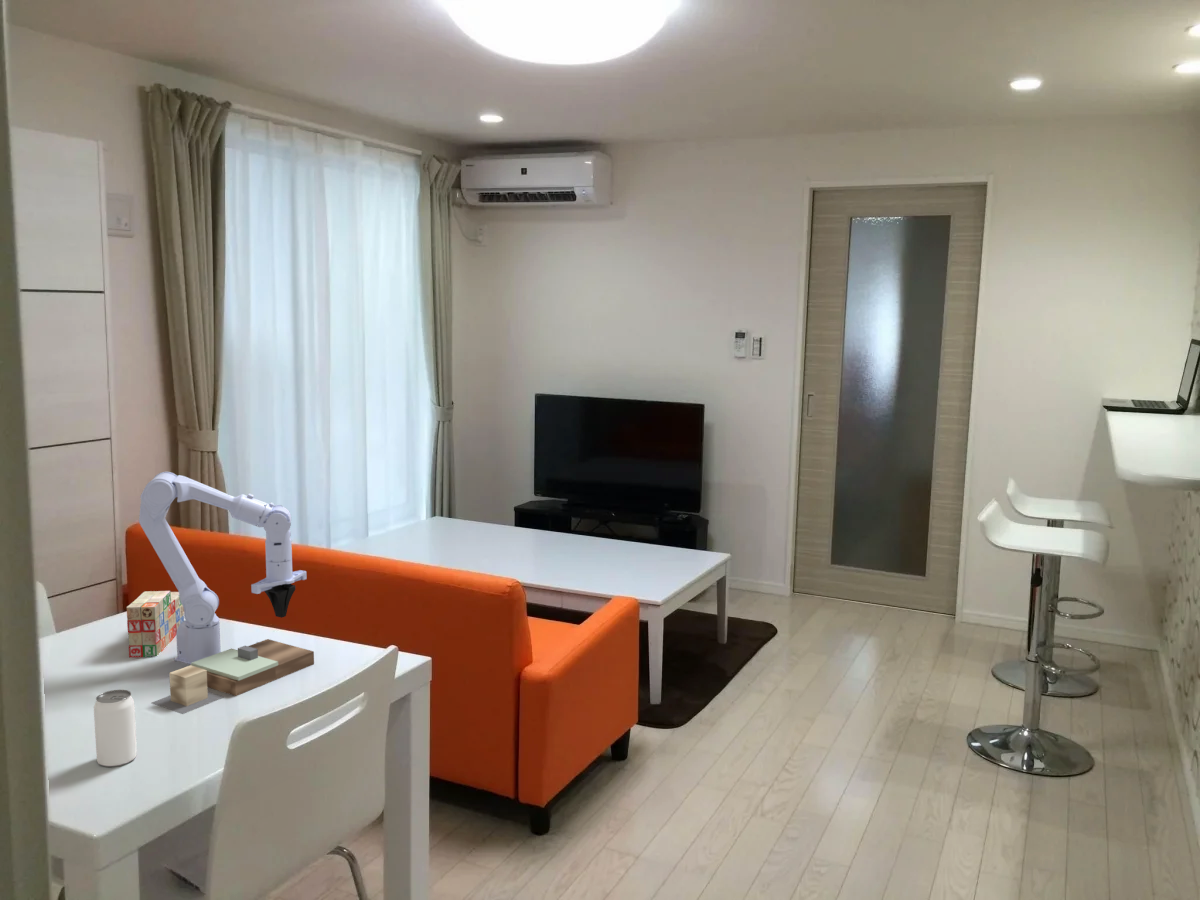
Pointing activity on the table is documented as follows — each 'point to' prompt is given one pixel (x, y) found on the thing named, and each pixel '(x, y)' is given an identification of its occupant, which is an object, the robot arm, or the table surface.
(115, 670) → the table surface
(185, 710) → the mat
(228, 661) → the lid
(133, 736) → the can
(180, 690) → the block
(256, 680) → the brown wooden shallow box
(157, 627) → the stack of blocks
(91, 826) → the table surface
